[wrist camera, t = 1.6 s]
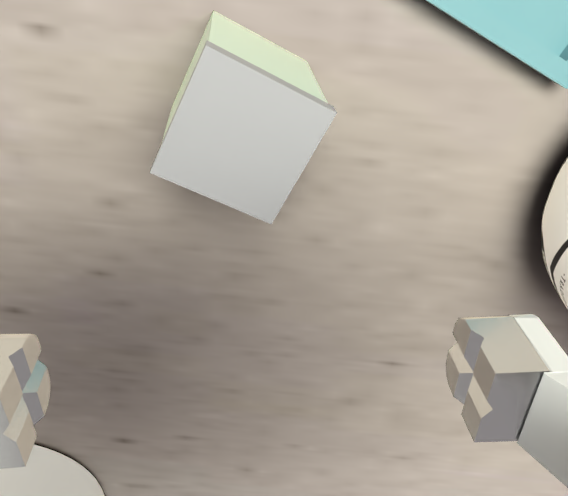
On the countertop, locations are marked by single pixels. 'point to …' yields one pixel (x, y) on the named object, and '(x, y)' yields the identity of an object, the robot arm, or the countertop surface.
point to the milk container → (557, 232)
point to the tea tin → (243, 121)
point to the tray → (520, 30)
